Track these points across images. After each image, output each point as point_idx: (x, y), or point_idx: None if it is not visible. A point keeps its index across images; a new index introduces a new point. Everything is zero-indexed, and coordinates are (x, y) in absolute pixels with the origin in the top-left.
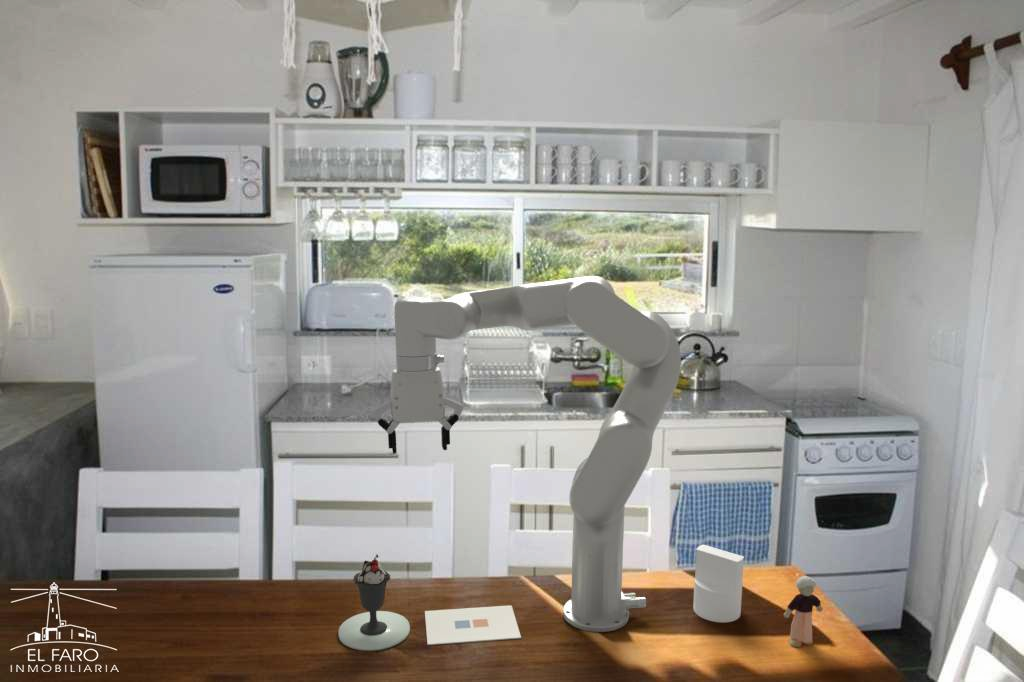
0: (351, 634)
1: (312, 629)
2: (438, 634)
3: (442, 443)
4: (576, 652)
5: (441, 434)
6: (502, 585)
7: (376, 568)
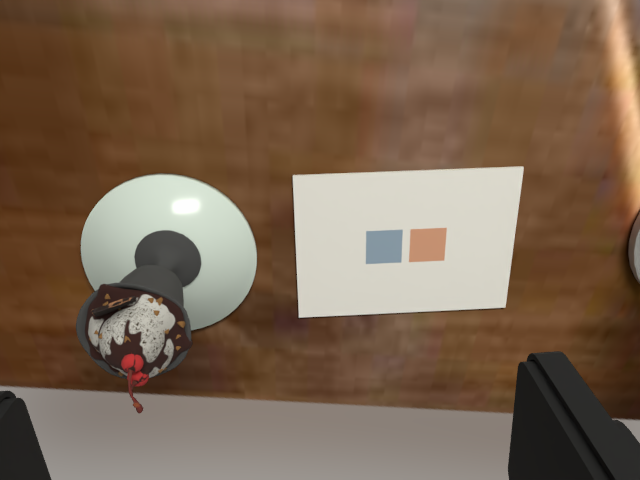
0: (118, 279)
1: (11, 232)
2: (324, 283)
3: (530, 462)
4: (597, 359)
5: (575, 458)
6: (530, 37)
7: (144, 384)
